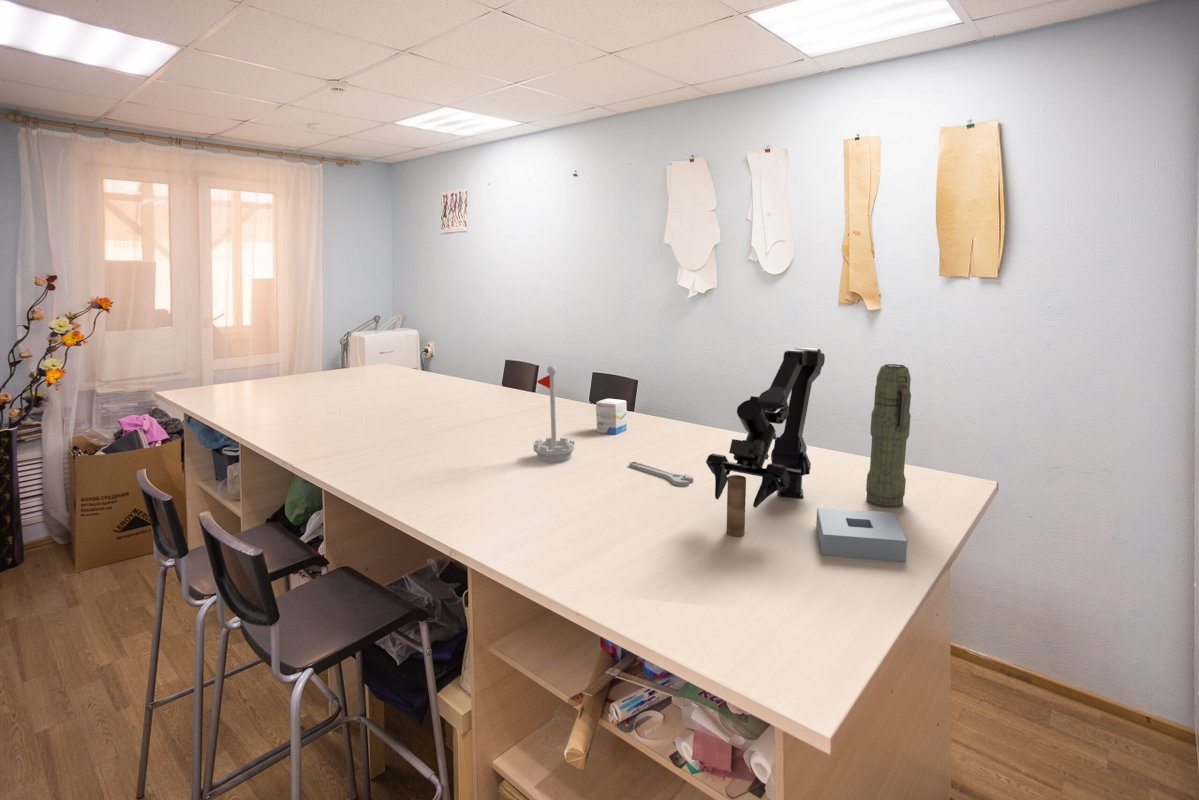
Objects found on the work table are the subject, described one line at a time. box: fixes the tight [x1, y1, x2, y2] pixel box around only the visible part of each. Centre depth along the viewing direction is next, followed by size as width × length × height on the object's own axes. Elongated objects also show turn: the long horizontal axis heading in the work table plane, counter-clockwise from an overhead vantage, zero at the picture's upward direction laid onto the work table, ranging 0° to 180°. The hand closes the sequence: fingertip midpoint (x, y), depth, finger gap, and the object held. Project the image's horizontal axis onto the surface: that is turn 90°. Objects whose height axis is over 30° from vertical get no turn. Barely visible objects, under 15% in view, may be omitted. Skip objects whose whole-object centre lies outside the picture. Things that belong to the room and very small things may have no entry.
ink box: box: [595, 398, 628, 435], centre depth 242 cm, size 9×8×12 cm
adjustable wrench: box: [628, 461, 694, 487], centre depth 190 cm, size 25×6×2 cm, turn 34°
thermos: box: [865, 363, 912, 509], centre depth 161 cm, size 9×12×35 cm
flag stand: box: [533, 365, 575, 464], centre depth 206 cm, size 13×13×30 cm
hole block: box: [815, 507, 908, 563], centre depth 140 cm, size 16×16×4 cm
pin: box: [725, 474, 747, 537], centre depth 145 cm, size 4×4×13 cm
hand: (734, 502), depth 145 cm, fingers open, 9 cm apart
